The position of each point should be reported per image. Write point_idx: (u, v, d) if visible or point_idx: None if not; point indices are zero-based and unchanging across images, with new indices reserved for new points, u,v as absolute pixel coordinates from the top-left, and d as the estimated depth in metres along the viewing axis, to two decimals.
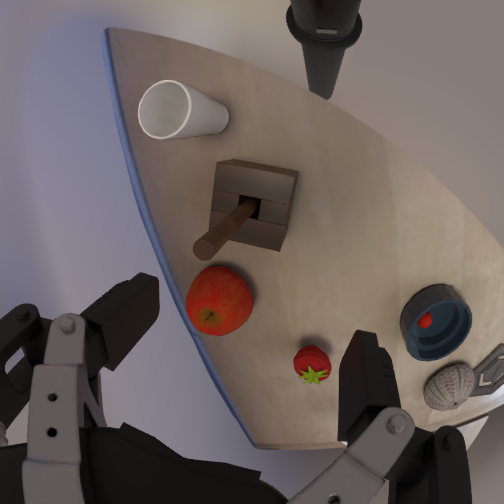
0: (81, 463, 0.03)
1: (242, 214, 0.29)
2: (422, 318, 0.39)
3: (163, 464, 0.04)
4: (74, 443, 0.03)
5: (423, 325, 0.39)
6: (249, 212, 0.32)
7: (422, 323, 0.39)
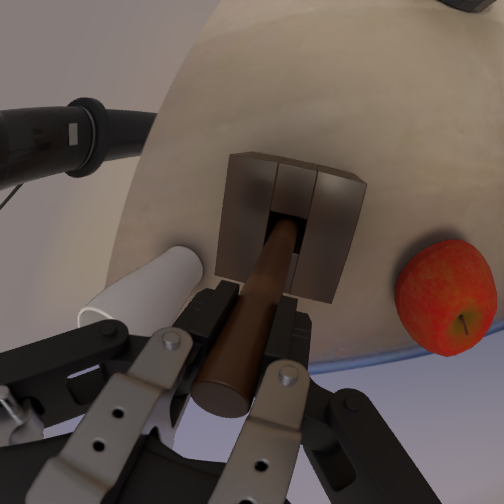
0: (112, 488, 0.03)
1: (263, 252, 0.15)
2: None
3: (163, 464, 0.04)
4: (117, 466, 0.03)
5: None
6: (277, 235, 0.17)
7: None
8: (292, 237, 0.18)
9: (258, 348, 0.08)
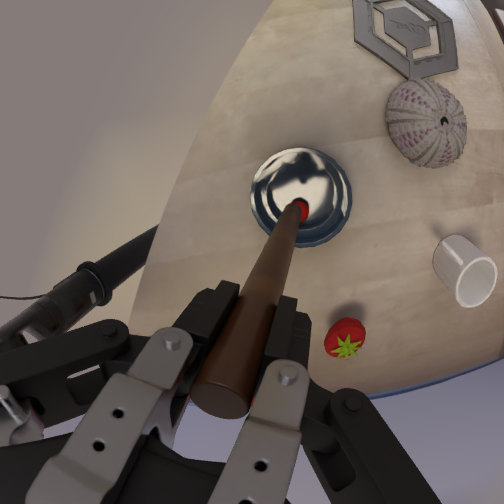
0: (112, 488, 0.03)
1: (262, 253, 0.15)
2: None
3: (163, 464, 0.04)
4: (117, 466, 0.03)
5: None
6: (276, 236, 0.17)
7: None
8: (292, 238, 0.18)
9: (257, 349, 0.08)
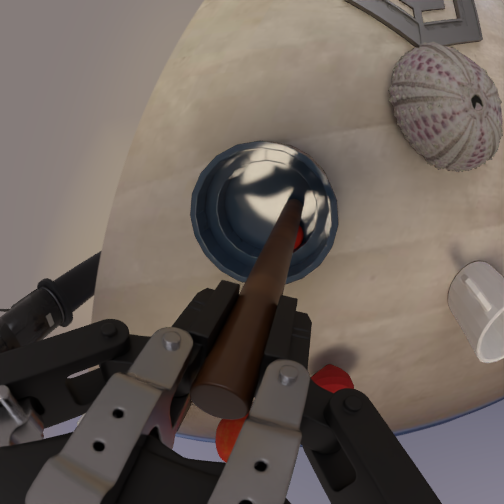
0: (112, 488, 0.03)
1: (262, 251, 0.15)
2: None
3: (163, 464, 0.04)
4: (117, 466, 0.03)
5: None
6: (277, 233, 0.17)
7: None
8: (292, 234, 0.18)
9: (256, 349, 0.08)
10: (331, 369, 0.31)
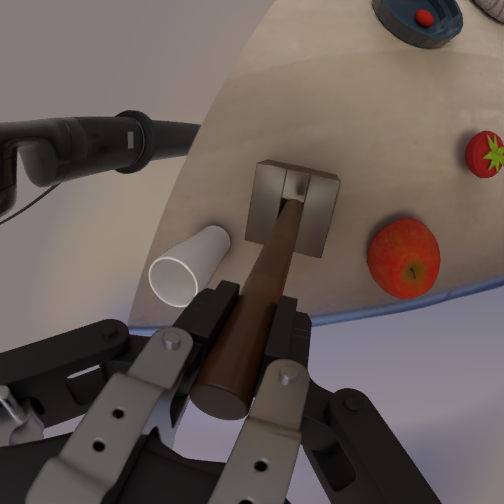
0: (112, 488, 0.03)
1: (262, 251, 0.15)
2: (415, 17, 0.22)
3: (163, 464, 0.04)
4: (117, 466, 0.03)
5: (418, 19, 0.22)
6: (276, 233, 0.17)
7: (417, 19, 0.22)
8: (292, 235, 0.18)
9: (256, 350, 0.08)
10: None
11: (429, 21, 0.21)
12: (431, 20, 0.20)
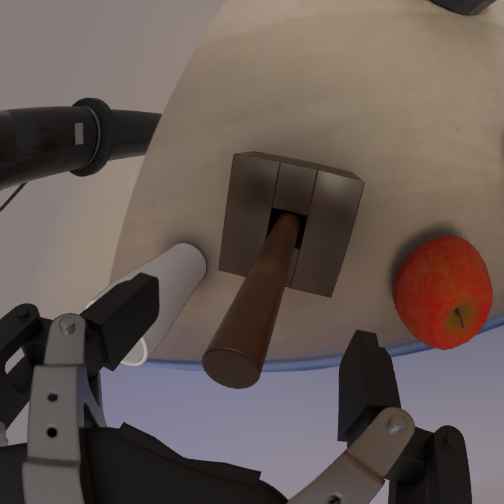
0: (81, 463, 0.03)
1: (267, 240, 0.16)
2: None
3: (163, 464, 0.04)
4: (74, 443, 0.03)
5: None
6: (280, 225, 0.18)
7: None
8: (294, 227, 0.19)
9: (265, 321, 0.09)
10: None
11: None
12: None
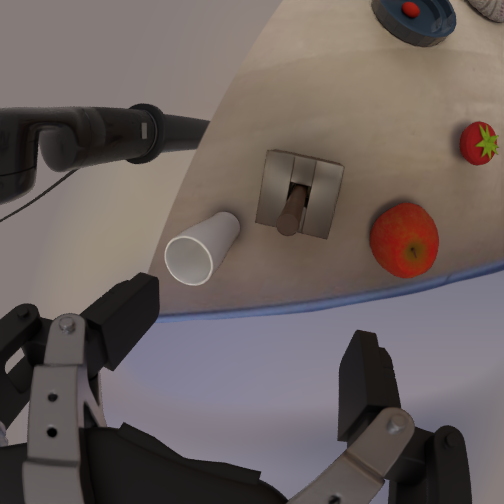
0: (81, 463, 0.03)
1: (291, 194, 0.29)
2: (408, 15, 0.24)
3: (163, 464, 0.04)
4: (74, 443, 0.03)
5: (403, 11, 0.24)
6: (296, 189, 0.31)
7: (405, 13, 0.24)
8: (304, 191, 0.32)
9: (298, 212, 0.22)
10: None
11: (406, 4, 0.22)
12: (408, 3, 0.22)
